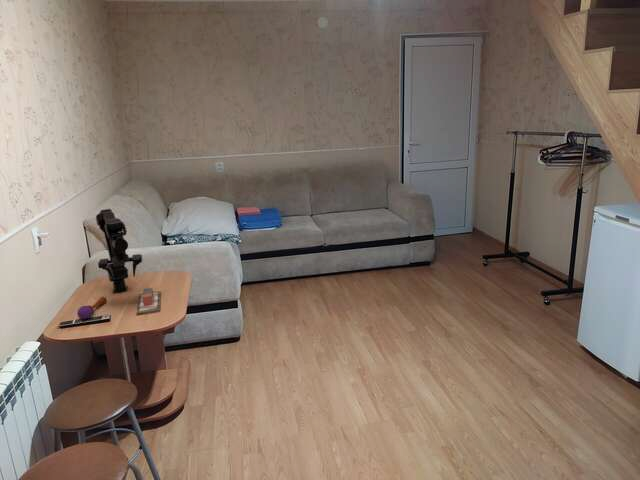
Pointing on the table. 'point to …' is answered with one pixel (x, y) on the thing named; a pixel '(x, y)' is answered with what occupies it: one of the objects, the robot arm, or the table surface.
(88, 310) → the purple maraca
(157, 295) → the board
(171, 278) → the table surface
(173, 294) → the table surface
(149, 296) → the red and gray block
